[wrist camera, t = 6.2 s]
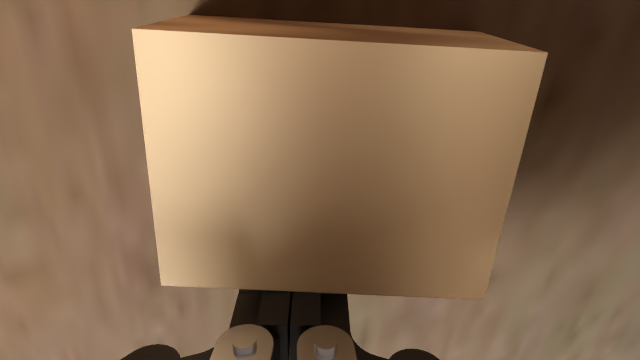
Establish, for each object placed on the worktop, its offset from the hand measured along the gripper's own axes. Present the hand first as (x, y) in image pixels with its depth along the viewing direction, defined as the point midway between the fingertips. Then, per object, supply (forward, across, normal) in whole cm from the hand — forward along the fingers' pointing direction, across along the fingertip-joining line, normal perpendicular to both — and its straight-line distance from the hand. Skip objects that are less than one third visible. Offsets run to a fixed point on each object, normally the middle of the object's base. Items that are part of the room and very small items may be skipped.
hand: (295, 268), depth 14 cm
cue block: (+2, -1, -4) cm, 4 cm away
